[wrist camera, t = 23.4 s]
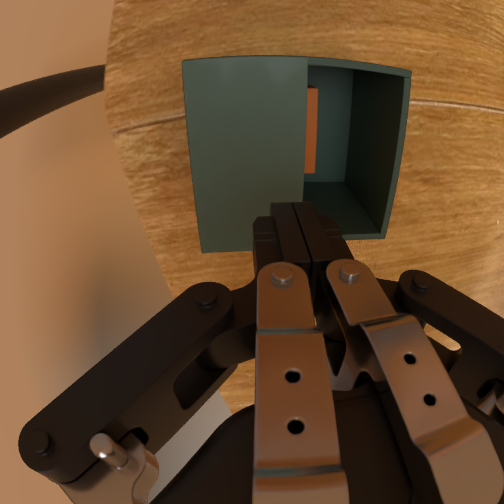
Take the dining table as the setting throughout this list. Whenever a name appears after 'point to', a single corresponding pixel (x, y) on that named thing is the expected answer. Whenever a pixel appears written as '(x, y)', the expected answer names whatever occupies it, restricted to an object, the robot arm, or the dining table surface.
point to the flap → (244, 142)
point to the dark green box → (356, 142)
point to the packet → (311, 129)
